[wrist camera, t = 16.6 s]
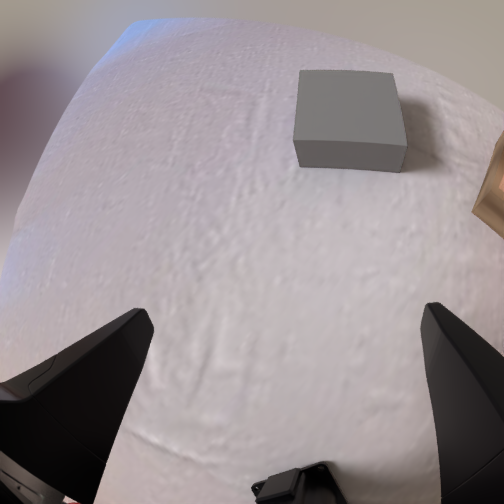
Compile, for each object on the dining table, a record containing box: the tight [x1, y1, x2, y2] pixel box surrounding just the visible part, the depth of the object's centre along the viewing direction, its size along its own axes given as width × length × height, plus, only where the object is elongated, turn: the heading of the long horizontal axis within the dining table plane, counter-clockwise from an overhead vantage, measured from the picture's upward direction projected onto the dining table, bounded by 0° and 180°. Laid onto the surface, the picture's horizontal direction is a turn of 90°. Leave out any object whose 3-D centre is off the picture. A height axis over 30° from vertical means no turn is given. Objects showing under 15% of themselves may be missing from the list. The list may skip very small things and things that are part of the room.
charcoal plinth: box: [293, 70, 408, 173], centre depth 23 cm, size 9×9×4 cm
